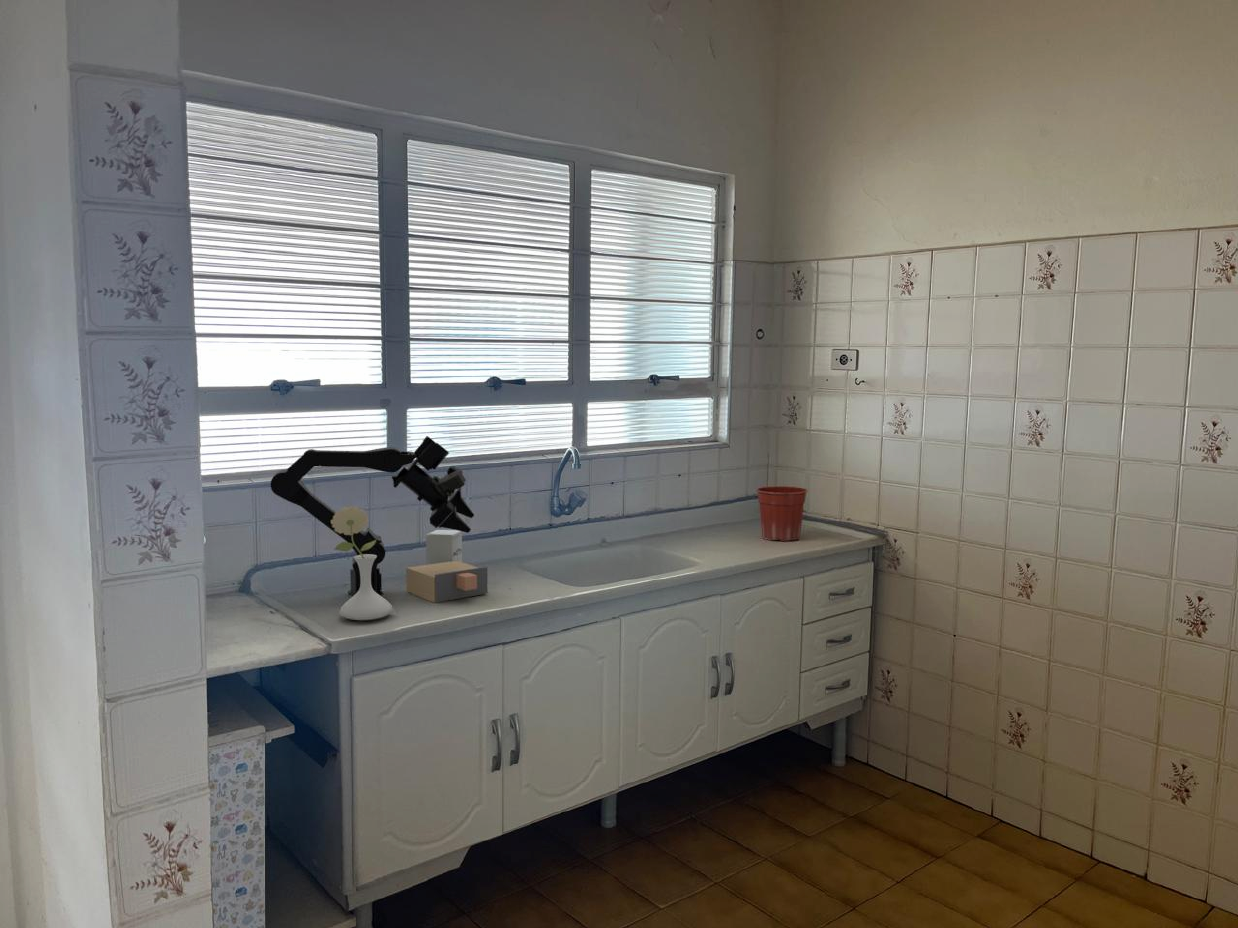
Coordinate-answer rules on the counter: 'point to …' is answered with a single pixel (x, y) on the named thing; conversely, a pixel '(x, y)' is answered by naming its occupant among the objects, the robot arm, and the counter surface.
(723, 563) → the counter surface
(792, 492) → the flower pot
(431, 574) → the sleeve
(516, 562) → the counter surface
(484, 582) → the tray
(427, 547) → the supplement box
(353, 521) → the flower in vase
